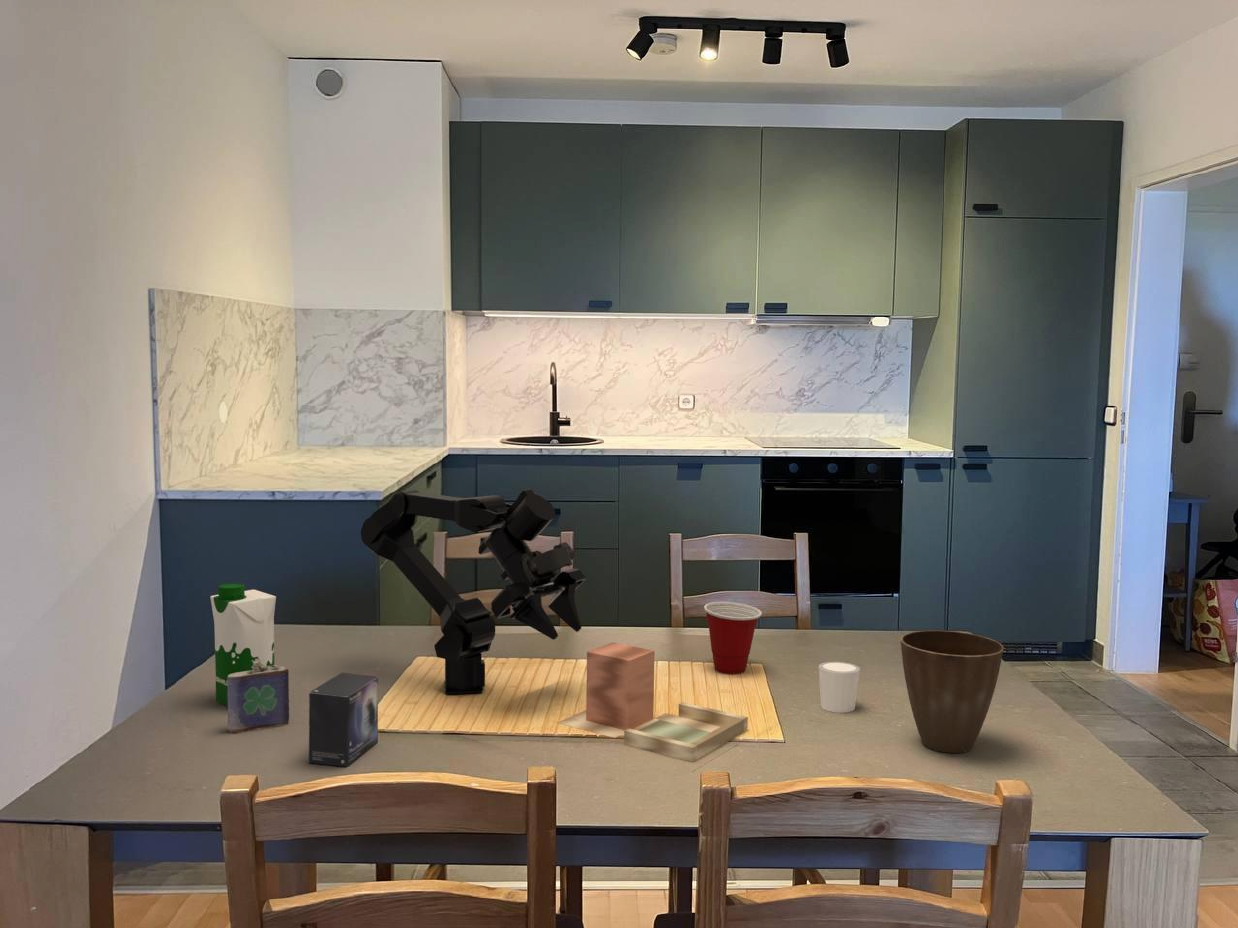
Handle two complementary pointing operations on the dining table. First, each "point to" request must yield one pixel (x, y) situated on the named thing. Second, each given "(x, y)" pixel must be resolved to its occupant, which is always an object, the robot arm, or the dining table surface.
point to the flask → (258, 698)
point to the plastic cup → (731, 634)
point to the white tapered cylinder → (838, 686)
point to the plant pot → (950, 685)
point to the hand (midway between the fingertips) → (567, 633)
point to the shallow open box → (674, 731)
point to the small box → (343, 719)
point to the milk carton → (241, 632)
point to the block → (620, 686)
